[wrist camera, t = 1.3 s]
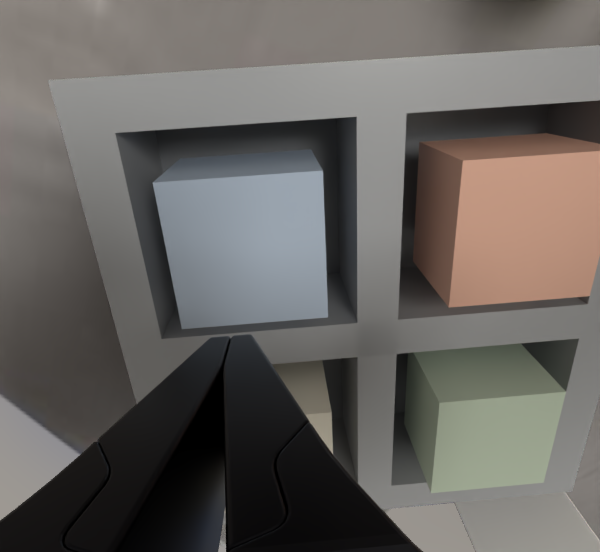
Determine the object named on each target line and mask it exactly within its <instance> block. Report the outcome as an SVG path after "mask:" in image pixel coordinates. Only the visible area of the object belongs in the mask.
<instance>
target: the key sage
mask: <svg viewBox="0 0 600 552" xmlns="http://www.w3.org/2000/svg"><path fill="white" fill-rule="evenodd" d="M565 394H566V391H565V390H564V389H563V388H562V387H561V386H560V385H559V384H558V383H557V382H556V380H555V379H554V378H553V377H552V376H551V375H550V374H549V373H548V372H547V371H546V370H545V369H544V368H543V367H542V366H541V364H540V363H539V362H538V361H537V360H536V359H535V358H534V357H533V356H532V355H531V354H530V353H529V352H528V351H527V350H526V349H525V347H524V346H523V345H522V344H521V343H519V344H508V345H496V346H484V347H472V348H460V349H448V350H436V351H424V352H412V353H408V361H407V380H406V398H405V417H404V424H405V427H406V430H407V432H408V435H409V437H410V440H411V443H412V445H413V448H414V450H415V453H416V456H417V458H418V461H419V463H420V466H421V469H422V471H423V474H424V476H425V479H426V482H427V484H428V487H429V490H430V492H431V493H439V492H450V491H460V490H471V489H482V488H492V487H503V486H514V485H524V484H535V483H544V479H545V475H546V471H547V467H548V463H549V459H550V455H551V451H552V447H553V443H554V439H555V435H556V431H557V427H558V423H559V419H560V415H561V410H562V406H563V402H564V398H565Z"/></svg>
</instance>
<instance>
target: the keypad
mask: <svg viewBox="0 0 600 552" xmlns="http://www.w3.org/2000/svg"><path fill="white" fill-rule="evenodd" d="M48 83H49V86H50V90H51V94H52V97H53V101H54V105H55V108H56V112H57V116H58V119H59V123H60V127H61V130H62V134H63V138H64V141H65V145H66V148H67V152H68V156H69V159H70V163H71V167H72V170H73V174H74V178H75V181H76V185H77V189H78V192H79V196H80V200H81V203H82V207H83V211H84V214H85V218H86V222H87V225H88V229H89V232H90V236H91V240H92V243H93V247H94V251H95V254H96V258H97V262H98V265H99V269H100V273H101V276H102V280H103V284H104V287H105V291H106V295H107V298H108V302H109V305H110V309H111V313H112V316H113V320H114V324H115V327H116V331H117V335H118V338H119V342H120V346H121V349H122V353H123V357H124V360H125V364H126V368H127V371H128V375H129V379H130V382H131V386H132V389H133V393H134V397H135V400H136V404H137V403H138V402H140V401H141V400H142V399H143V398H144V397H145V396H146V395H147V394H148V393H149V392H151V391H152V390H153V389H154V388H155V387H156V386H157V385H158V384H159V383H161V382H162V381H163V380H164V379H165V378H166V377H167V376H168V375H169V374H170V373H172V372H173V371H174V370H175V369H176V368H177V367H178V366H179V365H180V364H182V363H183V362H184V361H185V360H186V359H187V358H188V357H189V356H190V355H191V354H193V353H194V352H195V351H196V350H197V349H198V348H199V347H200V346H201V345H203V344H204V343H205V342H206V341H207V340H208V339H209V338H211V337H220V336H229V337H230V338H232V336H234V335H245V334H251V335H252V336H253V337H254V338H255V340H256V341H257V343H258V344H259V346H260V347H261V349H262V350H263V352H264V353H265V355H266V356H267V358H268V359H269V361H270V362H271V364H282V363H293V362H305V361H317V360H322V362H323V367H324V373H325V378H326V384H327V389H328V395H329V401H330V406H331V412H332V437H333V455H334V456H335V458H336V459H337V460H338V461H339V462H340V463H341V465H342V466H343V467H344V468H345V469H346V470H347V472H348V473H349V474H350V475H351V476H352V477H353V478H354V480H355V481H356V482H357V483H358V484H359V485H360V486H361V487H362V488H363V489H364V490H365V492H366V493H367V494H368V495H369V496H370V497H371V498H372V499H373V500H374V501H375V502H376V503H377V505H378V506H379V507H380V508H381V509H392V508H402V507H412V506H423V505H434V504H445V503H455V502H466V501H476V500H487V499H497V498H508V497H518V496H529V495H539V494H550V493H560V492H571V491H572V490H573V486H574V483H575V480H576V476H577V473H578V469H579V466H580V462H581V459H582V455H583V452H584V448H585V445H586V441H587V438H588V434H589V431H590V428H591V424H592V421H593V417H594V414H595V410H596V407H597V403H598V400H599V396H600V257H599V261H598V265H597V269H596V273H595V277H594V281H593V285H592V289H591V293H590V296H585V297H573V298H561V299H548V300H536V301H524V302H511V303H499V304H487V305H474V306H462V307H450V308H449V307H448V306H447V305H446V303H445V302H444V301H443V299H442V298H441V297H440V296H439V294H438V293H437V292H436V290H435V289H434V288H433V287H432V285H431V284H430V283H429V281H428V280H427V279H426V277H425V276H424V275H423V274H422V272H421V271H420V270H419V268H418V267H417V266H416V265H415V263H414V262H413V251H414V232H415V214H416V195H417V177H418V158H419V142H426V141H440V140H455V139H469V138H483V137H498V136H512V135H527V134H541V133H548V134H553V135H558V136H563V137H568V138H573V139H578V140H583V141H588V142H593V143H598V144H600V45H594V46H579V47H563V48H547V49H531V50H515V51H500V52H484V53H468V54H452V55H437V56H421V57H405V58H389V59H373V60H358V61H342V62H326V63H310V64H295V65H279V66H263V67H247V68H232V69H216V70H200V71H184V72H168V73H153V74H137V75H121V76H105V77H90V78H74V79H58V80H48ZM310 149H311V150H312V152H313V154H314V156H315V157H316V159H317V161H318V163H319V164H320V166H321V168H322V170H323V187H324V215H325V243H326V270H327V298H328V317H327V318H314V319H302V320H290V321H277V322H265V323H253V324H240V325H228V326H216V327H203V328H191V329H182V327H181V322H180V317H179V312H178V307H177V302H176V297H175V292H174V287H173V282H172V277H171V272H170V267H169V262H168V257H167V252H166V247H165V242H164V237H163V232H162V227H161V222H160V217H159V212H158V207H157V202H156V197H155V192H154V187H153V182H154V181H155V180H156V179H157V178H159V177H160V176H161V175H162V174H163V173H164V172H165V171H166V170H168V169H169V168H170V167H171V166H172V165H173V164H174V163H176V162H177V161H178V160H179V159H181V158H195V157H210V156H224V155H238V154H253V153H267V152H282V151H296V150H310ZM519 343H521V344H522V345H523V346H524V347H525V349H526V350H527V351H528V352H529V353H530V354H531V355H532V356H533V357H534V358H535V359H536V360H537V361H538V362H539V363H540V364H541V366H542V367H543V368H544V369H545V370H546V371H547V372H548V373H549V374H550V375H551V376H552V377H553V378H554V379H555V380H556V382H557V383H558V384H559V385H560V386H561V387H562V388H563V389H564V390H565V391H566V394H565V398H564V402H563V406H562V410H561V415H560V419H559V423H558V427H557V431H556V435H555V439H554V443H553V447H552V451H551V455H550V459H549V463H548V467H547V471H546V475H545V479H544V483H535V484H524V485H514V486H503V487H492V488H482V489H471V490H460V491H450V492H439V493H431V492H430V490H429V487H428V484H427V482H426V479H425V476H424V474H423V471H422V469H421V466H420V463H419V461H418V458H417V456H416V453H415V450H414V448H413V445H412V443H411V440H410V437H409V435H408V432H407V430H406V427H405V424H404V417H405V398H406V380H407V361H408V353H412V352H424V351H436V350H448V349H460V348H472V347H484V346H496V345H508V344H519ZM223 524H226V513H224V518H223ZM223 524H222V525H223Z"/></svg>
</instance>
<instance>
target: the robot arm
mask: <svg viewBox="0 0 600 552" xmlns="http://www.w3.org/2000/svg"><path fill="white" fill-rule="evenodd" d="M224 512H226V552H423V551H421V550H420V549H419V548H418V547H417V546H416V545H415V544H414V543H413V542H411V540H410V539H409V538H408V537H407V536H406V535H405V534H404V533H403V532H402V531H401V530H400V528H399V527H398V526H397V525H396V524H395V523H394V522H393V521H392V520H391V519H390V518H389V517H388V515H387V514H386V513H385V512H384V511H383V510H382V509H381V508H380V507H379V506H378V505H377V503H376V502H375V501H374V500H373V499H372V498H371V497H370V496H369V495H368V494H367V493H366V492H365V490H364V489H363V488H362V487H361V486H360V485H359V484H358V483H357V482H356V481H355V480H354V478H353V477H352V476H351V475H350V474H349V473H348V472H347V470H346V469H345V468H344V467H343V466H342V465H341V463H340V462H339V461H338V460H337V459H336V458H335V456H334V455H333V454H332V452H331V451H330V450H329V448H328V447H327V445H326V444H325V443H324V441H323V440H322V439H321V437H320V436H319V434H318V433H317V431H316V430H315V428H314V427H313V425H312V424H311V423H310V421H309V420H308V418H307V417H306V415H305V414H304V412H303V411H302V409H301V408H300V406H299V405H298V403H297V402H296V400H295V399H294V397H293V396H292V394H291V393H290V391H289V390H288V388H287V387H286V385H285V384H284V382H283V380H282V379H281V377H280V376H279V374H278V373H277V371H276V370H275V368H274V367H273V365H272V364H271V362H270V361H269V359H268V358H267V356H266V355H265V353H264V352H263V350H262V349H261V347H260V346H259V344H258V343H257V341H256V340H255V338H254V337H253V336H252V335H251V334H245V335H234V336H232V338H230V337H229V336H220V337H211V338H209V339H208V340H207V341H206V342H205V343H204V344H203V345H201V346H200V347H199V348H198V349H197V350H196V351H195V352H194V353H193V354H191V355H190V356H189V357H188V358H187V359H186V360H185V361H184V362H183V363H182V364H180V365H179V366H178V367H177V368H176V369H175V370H174V371H173V372H172V373H170V374H169V375H168V376H167V377H166V378H165V379H164V380H163V381H162V382H161V383H159V384H158V385H157V386H156V387H155V388H154V389H153V390H152V391H151V392H149V393H148V394H147V395H146V396H145V397H144V398H143V399H142V400H141V401H140V402H138V403H137V404H136V405H135V406H134V407H133V408H132V409H131V410H130V411H128V412H127V413H126V414H125V415H124V416H123V417H122V418H121V419H120V420H119V421H117V422H116V423H115V424H114V425H113V426H112V427H111V428H110V429H109V430H107V431H106V432H105V433H104V434H103V435H102V436H101V437H100V438H99V439H98V442H94V443H93V444H92V445H91V446H90V447H88V448H87V449H86V450H85V451H84V452H83V453H82V454H81V455H80V456H78V457H77V458H76V459H75V460H74V461H73V462H72V463H71V464H69V465H68V466H67V467H66V468H65V469H64V470H62V471H61V472H60V473H59V474H58V475H57V476H55V477H54V478H53V479H52V480H51V481H50V482H48V483H47V484H46V485H45V486H43V487H42V488H41V489H40V490H38V491H37V492H36V493H35V494H33V495H32V496H31V497H30V498H29V499H27V500H26V501H25V502H23V503H22V504H21V505H20V506H18V508H16V509H15V510H13V511H12V512H11V513H9V514H8V515H7V516H6V517H4V518H3V519H2V520H0V552H218V549H219V543H220V537H221V530H222V524H223V518H224Z"/></svg>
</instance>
